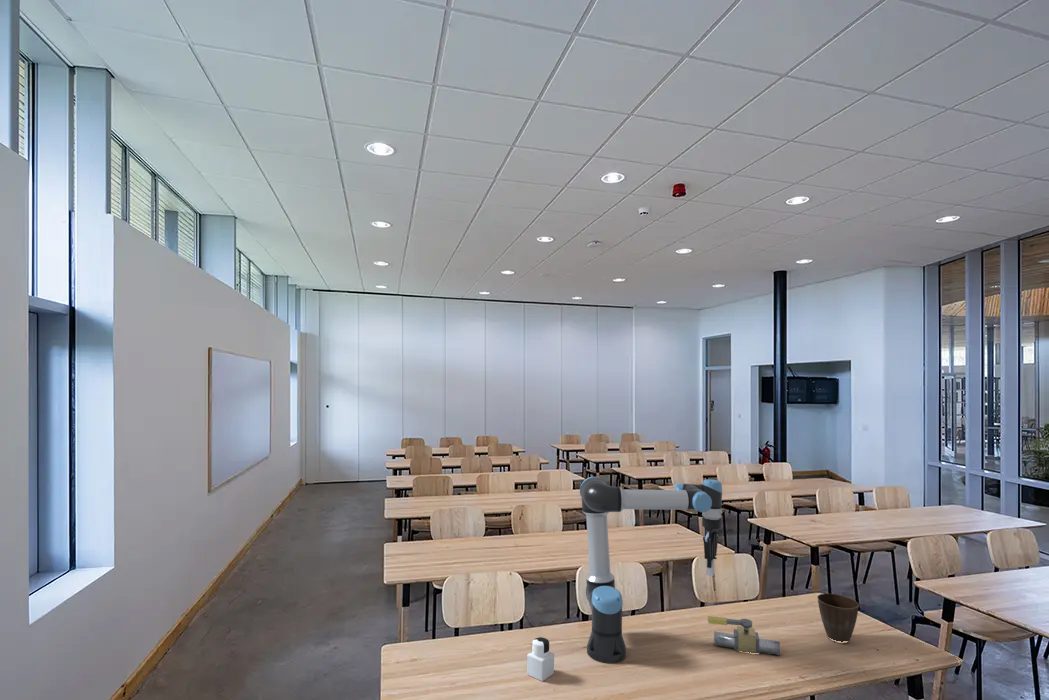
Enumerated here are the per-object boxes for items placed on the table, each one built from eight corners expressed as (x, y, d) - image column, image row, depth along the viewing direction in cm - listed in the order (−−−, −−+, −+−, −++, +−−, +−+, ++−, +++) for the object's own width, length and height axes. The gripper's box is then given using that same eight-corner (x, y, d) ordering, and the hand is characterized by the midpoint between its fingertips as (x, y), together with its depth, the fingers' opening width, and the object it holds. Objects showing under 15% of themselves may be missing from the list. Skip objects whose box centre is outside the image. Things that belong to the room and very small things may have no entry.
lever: (750, 623, 218) (750, 619, 218) (753, 628, 214) (753, 624, 214) (707, 619, 221) (707, 615, 221) (709, 624, 217) (709, 620, 217)
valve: (714, 648, 216) (714, 624, 217) (714, 640, 223) (714, 617, 223) (780, 659, 209) (780, 634, 209) (778, 650, 215) (778, 627, 216)
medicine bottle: (538, 666, 200) (539, 633, 201) (554, 673, 196) (554, 639, 196) (526, 674, 195) (527, 640, 195) (542, 682, 190) (542, 646, 191)
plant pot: (859, 652, 215) (858, 611, 216) (816, 642, 223) (816, 602, 224) (859, 637, 228) (858, 598, 229) (818, 628, 236) (818, 590, 236)
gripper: (715, 522, 220) (713, 581, 219) (725, 516, 230) (724, 573, 229) (697, 518, 225) (695, 576, 223) (708, 513, 235) (706, 568, 234)
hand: (710, 574), depth 226 cm, fingers closed
